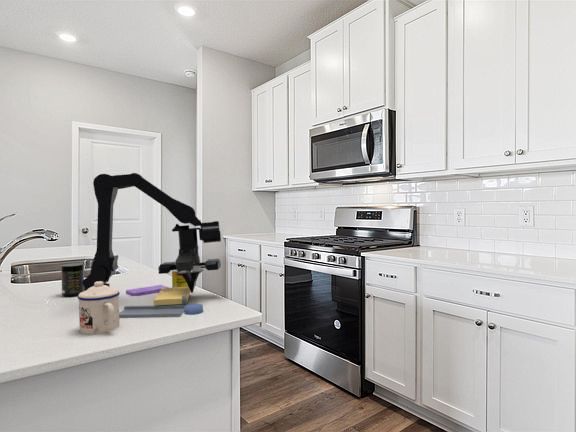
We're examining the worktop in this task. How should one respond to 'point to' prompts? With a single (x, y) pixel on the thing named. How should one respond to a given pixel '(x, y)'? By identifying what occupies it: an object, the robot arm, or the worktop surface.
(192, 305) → the blue rounded dome
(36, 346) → the worktop surface
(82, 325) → the teacup with lid
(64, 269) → the supplement container
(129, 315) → the grey flanged channel
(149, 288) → the sponges
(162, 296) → the cover
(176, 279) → the supplement bottle
